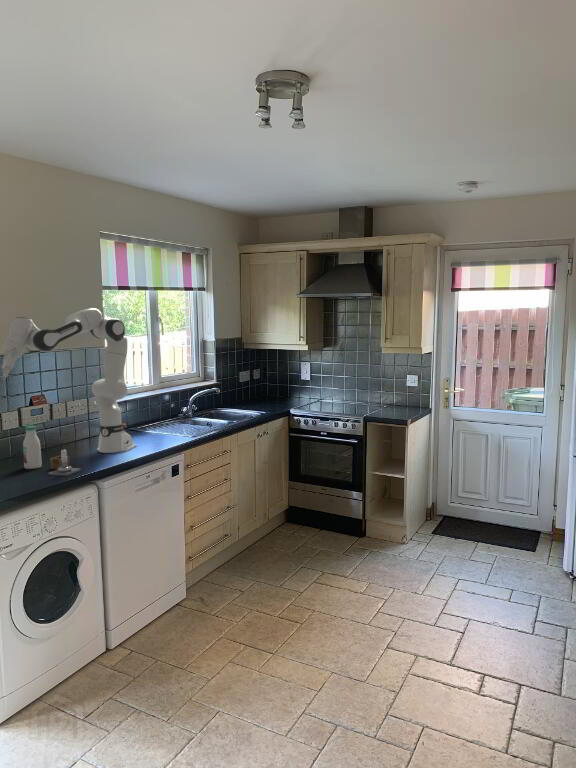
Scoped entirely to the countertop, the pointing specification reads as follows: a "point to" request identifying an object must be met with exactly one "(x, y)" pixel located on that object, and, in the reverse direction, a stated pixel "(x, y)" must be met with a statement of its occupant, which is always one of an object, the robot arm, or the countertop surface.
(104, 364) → the robot arm
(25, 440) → the milk bottle
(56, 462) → the collar
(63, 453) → the post
